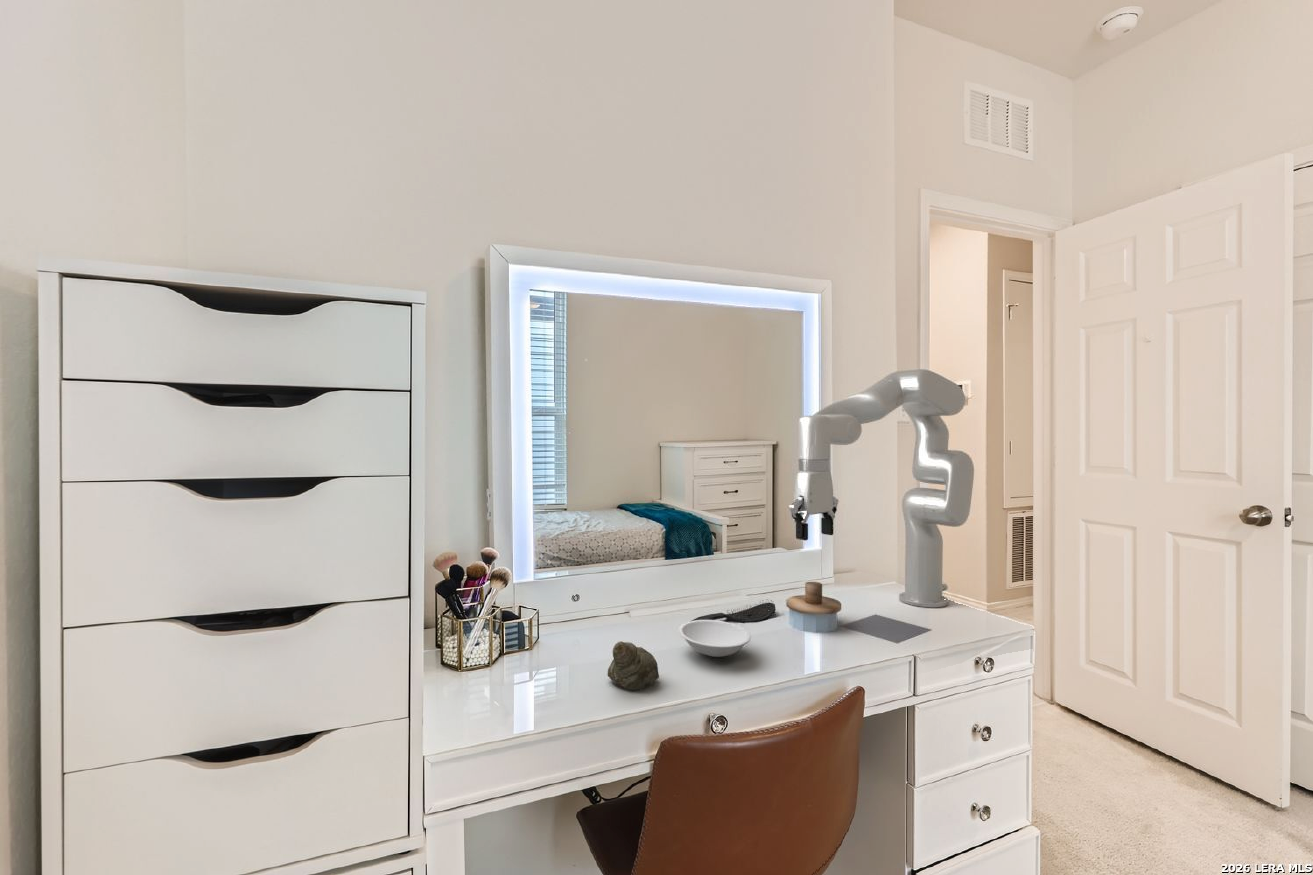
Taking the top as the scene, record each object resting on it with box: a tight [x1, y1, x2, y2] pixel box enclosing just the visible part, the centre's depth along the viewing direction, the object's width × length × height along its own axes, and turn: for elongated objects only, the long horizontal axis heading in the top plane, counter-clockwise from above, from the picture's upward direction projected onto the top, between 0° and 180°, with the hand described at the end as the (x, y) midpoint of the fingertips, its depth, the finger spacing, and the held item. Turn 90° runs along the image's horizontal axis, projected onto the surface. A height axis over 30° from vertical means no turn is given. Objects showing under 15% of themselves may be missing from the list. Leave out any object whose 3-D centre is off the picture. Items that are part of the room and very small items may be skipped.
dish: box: [678, 619, 752, 658], centre depth 132 cm, size 18×14×5 cm
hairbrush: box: [691, 598, 777, 624], centre depth 156 cm, size 8×4×25 cm
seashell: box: [606, 640, 660, 691], centre depth 119 cm, size 11×12×10 cm
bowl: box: [788, 608, 838, 634], centre depth 151 cm, size 11×11×5 cm
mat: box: [840, 614, 932, 644], centre depth 149 cm, size 15×15×1 cm
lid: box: [785, 581, 842, 615], centre depth 151 cm, size 13×13×6 cm
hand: (814, 536), depth 151 cm, fingers open, 9 cm apart
